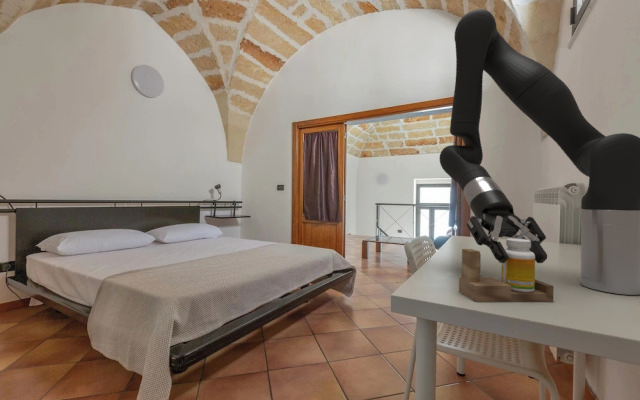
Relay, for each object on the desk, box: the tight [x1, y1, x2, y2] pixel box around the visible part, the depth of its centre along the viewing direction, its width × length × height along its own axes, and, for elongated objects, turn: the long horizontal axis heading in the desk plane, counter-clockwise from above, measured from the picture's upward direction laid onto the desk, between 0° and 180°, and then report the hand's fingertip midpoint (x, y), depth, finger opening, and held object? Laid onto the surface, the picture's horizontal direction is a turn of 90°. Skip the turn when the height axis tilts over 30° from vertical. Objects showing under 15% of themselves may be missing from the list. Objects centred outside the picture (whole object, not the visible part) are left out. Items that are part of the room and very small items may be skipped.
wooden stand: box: [458, 248, 554, 303], centre depth 55 cm, size 15×6×9 cm, turn 91°
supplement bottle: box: [500, 237, 536, 292], centre depth 55 cm, size 5×5×10 cm
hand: (523, 260), depth 53 cm, fingers open, 7 cm apart
